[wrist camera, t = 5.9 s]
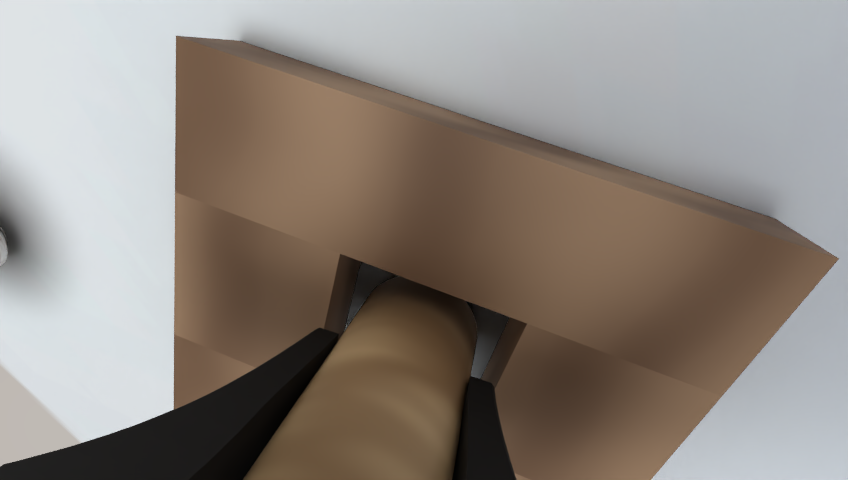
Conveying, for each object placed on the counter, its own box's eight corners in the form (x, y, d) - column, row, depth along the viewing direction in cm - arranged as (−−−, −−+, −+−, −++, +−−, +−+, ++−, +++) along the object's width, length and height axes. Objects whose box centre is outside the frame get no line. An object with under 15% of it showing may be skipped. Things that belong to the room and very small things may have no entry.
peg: (489, 292, 13) (444, 580, 6) (464, 388, 14) (404, 706, 7) (368, 262, 13) (186, 488, 6) (357, 358, 15) (203, 624, 8)
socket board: (775, 219, 11) (838, 258, 9) (558, 514, 17) (563, 582, 15) (239, 40, 12) (176, 36, 10) (216, 373, 19) (173, 415, 16)
